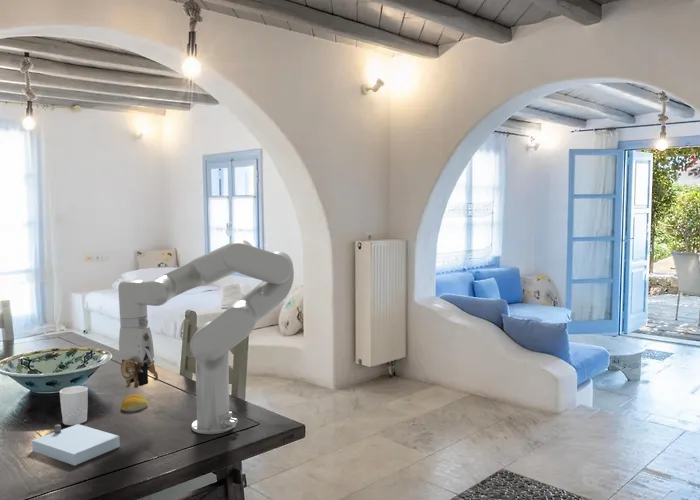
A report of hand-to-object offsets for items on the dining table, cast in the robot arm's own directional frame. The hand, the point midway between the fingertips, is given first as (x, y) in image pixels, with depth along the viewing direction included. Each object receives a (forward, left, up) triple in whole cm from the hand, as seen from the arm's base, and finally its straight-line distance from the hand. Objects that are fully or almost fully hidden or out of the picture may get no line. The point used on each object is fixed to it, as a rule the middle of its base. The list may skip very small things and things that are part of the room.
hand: (137, 383), depth 181 cm
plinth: (+3, +18, -14) cm, 23 cm away
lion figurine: (0, -1, -1) cm, 2 cm away
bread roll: (+17, -13, -15) cm, 26 cm away
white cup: (+22, +5, -14) cm, 27 cm away
